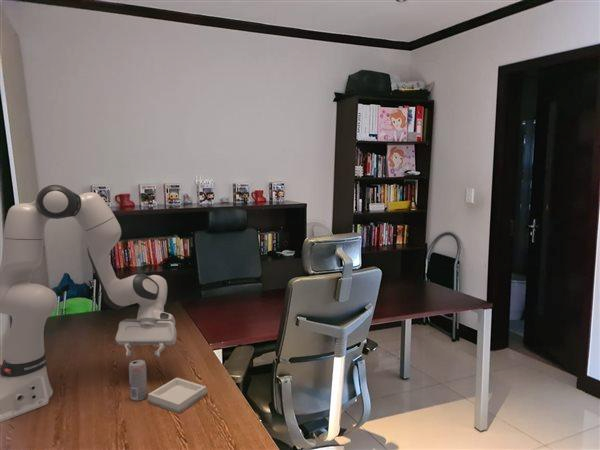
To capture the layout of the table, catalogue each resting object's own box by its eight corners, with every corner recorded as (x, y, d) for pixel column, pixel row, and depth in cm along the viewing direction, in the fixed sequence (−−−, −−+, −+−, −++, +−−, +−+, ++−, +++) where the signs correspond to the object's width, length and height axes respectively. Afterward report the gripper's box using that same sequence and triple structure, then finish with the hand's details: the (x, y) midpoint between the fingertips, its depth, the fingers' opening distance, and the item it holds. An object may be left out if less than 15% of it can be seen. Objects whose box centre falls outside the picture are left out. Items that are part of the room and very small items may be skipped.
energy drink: (141, 391, 156) (140, 357, 154) (150, 396, 152) (149, 362, 151) (126, 397, 152) (125, 363, 150) (135, 403, 148) (134, 368, 147)
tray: (178, 413, 143) (178, 404, 142) (148, 402, 149) (148, 394, 148) (206, 394, 154) (206, 386, 153) (176, 385, 160) (176, 377, 160)
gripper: (117, 315, 161) (108, 353, 153) (176, 314, 162) (170, 353, 154) (122, 322, 166) (114, 360, 158) (179, 322, 167) (174, 359, 159)
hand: (142, 356), depth 156 cm, fingers open, 8 cm apart
